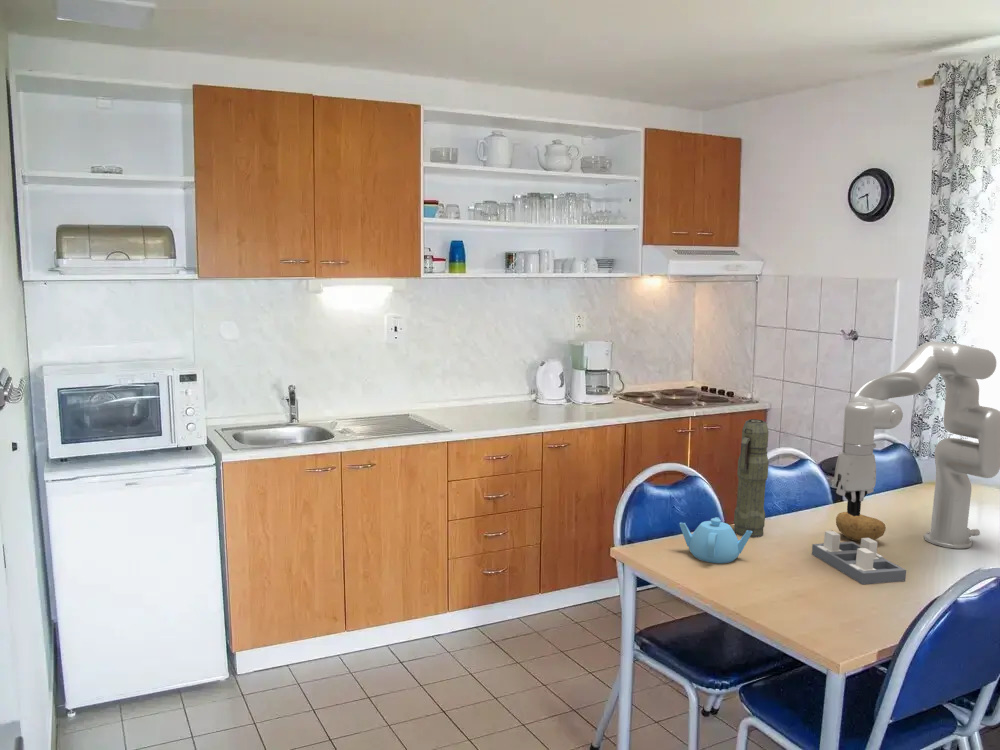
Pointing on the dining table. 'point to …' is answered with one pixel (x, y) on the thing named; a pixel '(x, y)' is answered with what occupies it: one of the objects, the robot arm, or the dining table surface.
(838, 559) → the switch bank
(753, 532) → the thermos
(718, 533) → the teapot
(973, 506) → the dining table surface
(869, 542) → the tab
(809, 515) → the dining table surface
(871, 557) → the tab
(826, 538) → the tab
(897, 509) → the dining table surface
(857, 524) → the potato
